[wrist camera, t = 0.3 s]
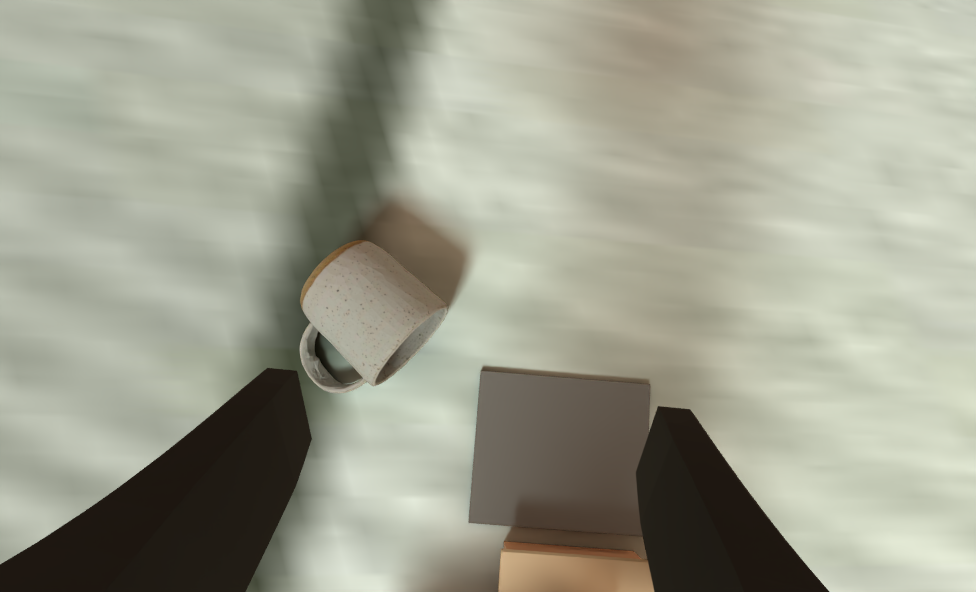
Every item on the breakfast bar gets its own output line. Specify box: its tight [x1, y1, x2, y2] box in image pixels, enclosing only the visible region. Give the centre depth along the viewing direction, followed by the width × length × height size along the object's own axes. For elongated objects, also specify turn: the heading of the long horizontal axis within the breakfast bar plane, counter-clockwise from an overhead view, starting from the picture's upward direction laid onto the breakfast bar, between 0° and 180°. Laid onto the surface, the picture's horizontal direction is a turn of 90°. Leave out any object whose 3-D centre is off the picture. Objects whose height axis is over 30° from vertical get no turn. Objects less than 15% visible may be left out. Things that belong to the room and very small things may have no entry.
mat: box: [469, 371, 650, 536], centre depth 39 cm, size 11×13×1 cm
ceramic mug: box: [300, 240, 448, 393], centre depth 36 cm, size 11×8×8 cm
